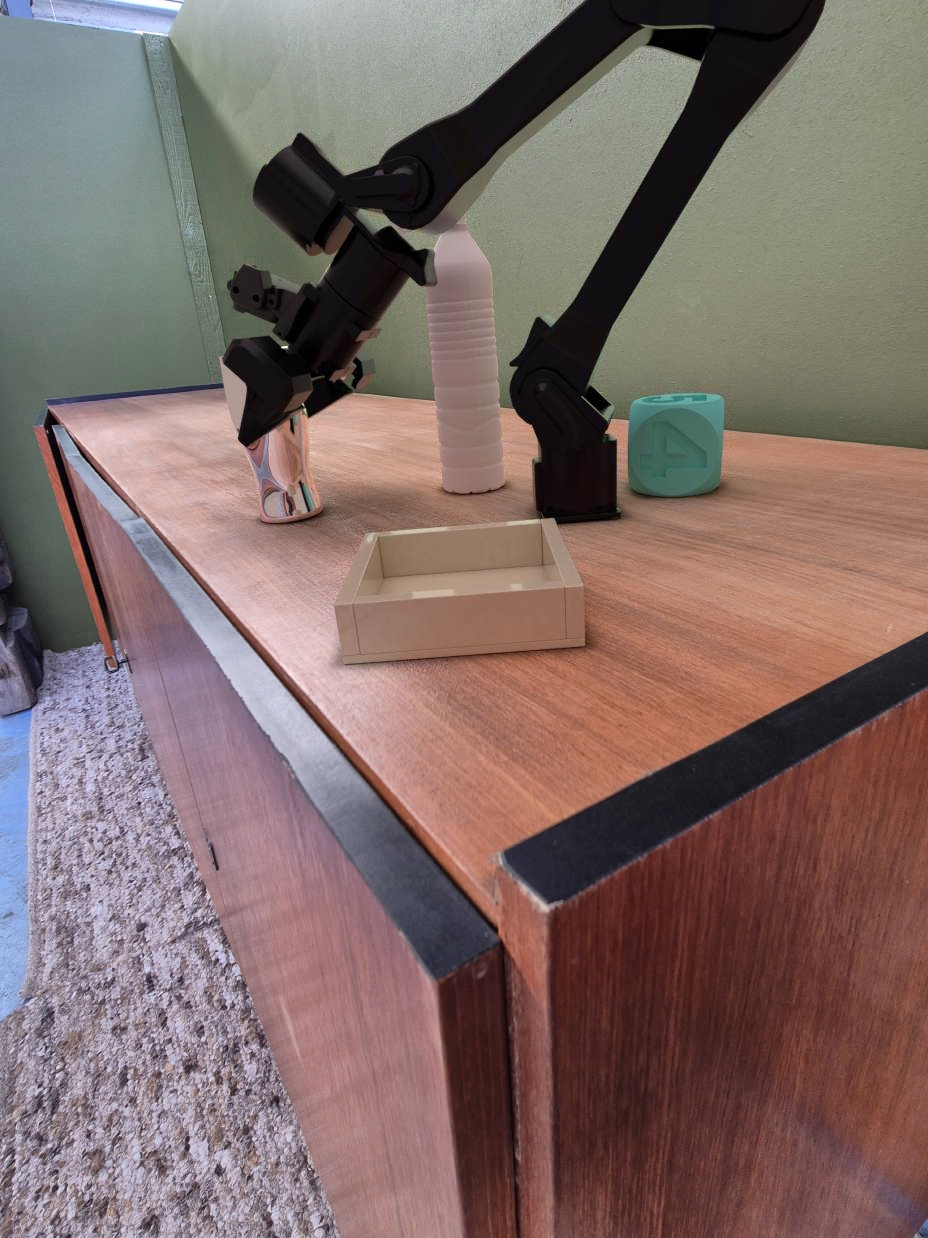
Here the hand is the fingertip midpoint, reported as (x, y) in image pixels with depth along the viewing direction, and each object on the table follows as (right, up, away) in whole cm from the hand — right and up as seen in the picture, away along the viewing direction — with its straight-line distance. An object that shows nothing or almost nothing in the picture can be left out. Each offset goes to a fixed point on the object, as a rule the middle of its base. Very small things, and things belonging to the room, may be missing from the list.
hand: (262, 436), depth 67 cm
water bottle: (+19, -4, +8) cm, 21 cm away
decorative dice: (+39, -5, +1) cm, 39 cm away
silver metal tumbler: (+2, -7, +3) cm, 8 cm away
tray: (+19, -17, -23) cm, 34 cm away
